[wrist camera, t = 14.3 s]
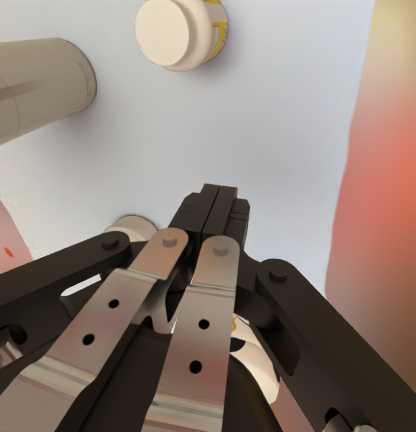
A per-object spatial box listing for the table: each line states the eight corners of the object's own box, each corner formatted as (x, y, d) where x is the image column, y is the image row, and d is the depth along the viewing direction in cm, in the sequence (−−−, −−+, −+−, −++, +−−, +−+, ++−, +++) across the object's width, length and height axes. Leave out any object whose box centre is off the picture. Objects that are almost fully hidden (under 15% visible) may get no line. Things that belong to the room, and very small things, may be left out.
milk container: (291, 270, 51) (292, 369, 36) (282, 325, 60) (280, 420, 46) (201, 259, 55) (170, 344, 40) (206, 312, 64) (183, 395, 50)
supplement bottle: (165, 8, 32) (107, 3, 22) (218, -21, 29) (179, -42, 19) (188, 69, 35) (146, 89, 25) (237, 48, 32) (213, 61, 22)
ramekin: (119, 249, 59) (106, 266, 55) (108, 206, 52) (92, 222, 48) (168, 258, 57) (158, 277, 53) (163, 214, 50) (151, 232, 46)
